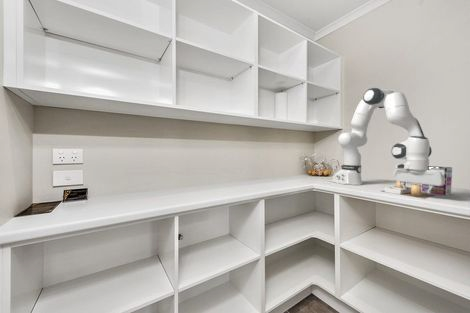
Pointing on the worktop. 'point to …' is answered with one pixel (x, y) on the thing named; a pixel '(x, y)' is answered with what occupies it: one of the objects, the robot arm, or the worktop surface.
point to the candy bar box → (447, 183)
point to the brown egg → (416, 190)
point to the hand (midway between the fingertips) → (416, 191)
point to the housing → (397, 189)
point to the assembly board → (415, 196)
